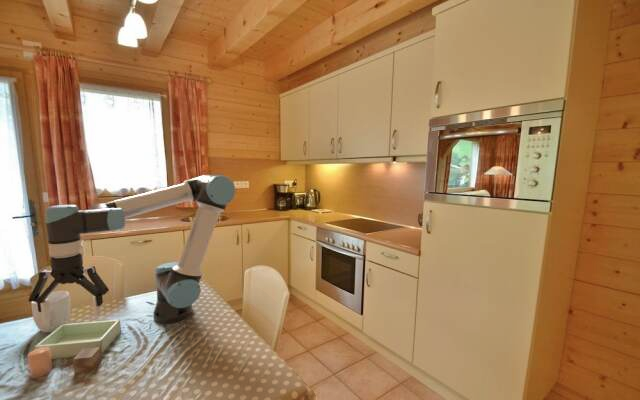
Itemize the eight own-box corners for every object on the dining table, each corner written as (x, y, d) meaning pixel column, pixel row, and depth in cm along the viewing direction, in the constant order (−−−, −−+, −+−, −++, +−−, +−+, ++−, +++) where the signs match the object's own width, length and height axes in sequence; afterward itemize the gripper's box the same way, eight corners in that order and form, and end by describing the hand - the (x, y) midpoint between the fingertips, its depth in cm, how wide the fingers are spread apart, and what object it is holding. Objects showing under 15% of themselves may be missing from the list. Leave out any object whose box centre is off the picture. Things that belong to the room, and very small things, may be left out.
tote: (121, 331, 111) (120, 319, 110) (101, 354, 98) (100, 340, 97) (63, 336, 107) (62, 324, 106) (35, 360, 94) (33, 347, 93)
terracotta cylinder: (56, 365, 92) (54, 345, 91) (44, 376, 87) (42, 356, 86) (38, 367, 91) (35, 347, 90) (25, 379, 86) (22, 358, 85)
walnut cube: (101, 361, 94) (100, 347, 94) (92, 371, 90) (91, 357, 89) (84, 362, 93) (82, 348, 93) (74, 373, 89) (72, 359, 88)
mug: (67, 335, 108) (64, 303, 106) (27, 345, 102) (23, 311, 100) (74, 317, 120) (71, 288, 119) (38, 325, 114) (35, 295, 113)
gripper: (117, 248, 95) (121, 307, 98) (25, 253, 88) (33, 316, 91) (107, 255, 88) (112, 318, 91) (6, 261, 81) (15, 329, 84)
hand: (72, 317), depth 91 cm, fingers open, 13 cm apart
